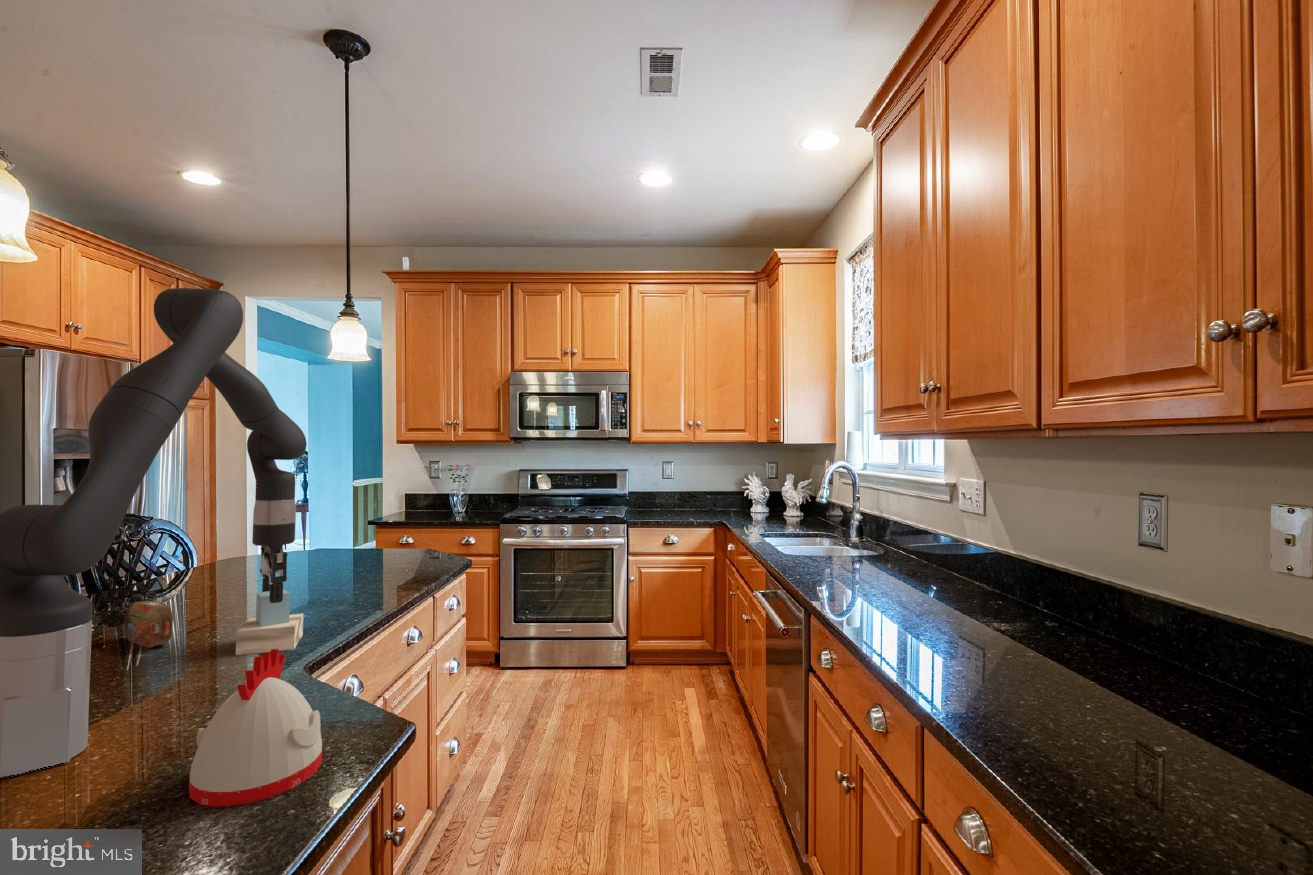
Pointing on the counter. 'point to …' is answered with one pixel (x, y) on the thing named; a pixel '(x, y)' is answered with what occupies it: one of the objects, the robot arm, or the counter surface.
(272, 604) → the blue-gray block
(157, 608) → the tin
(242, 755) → the kitchen timer
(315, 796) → the counter surface
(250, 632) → the birch block
